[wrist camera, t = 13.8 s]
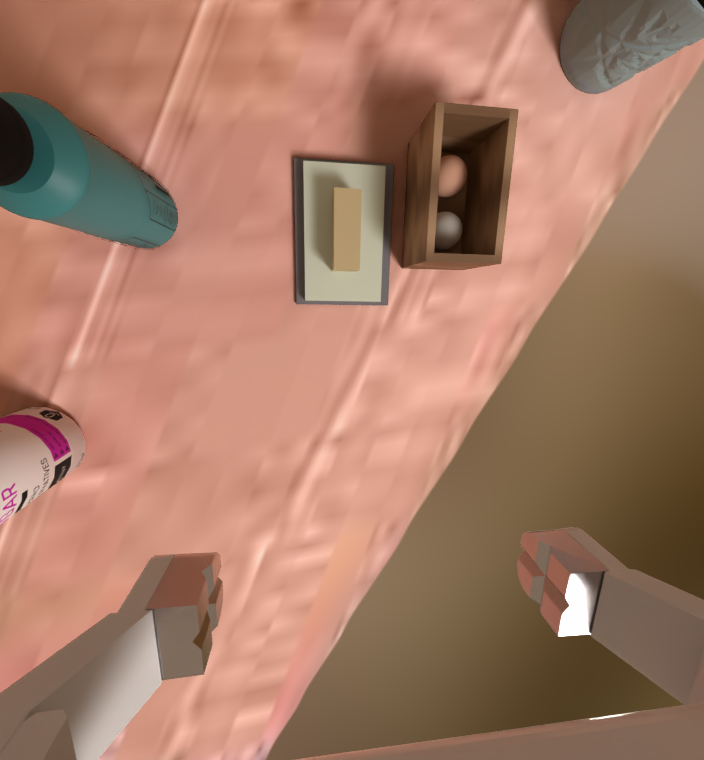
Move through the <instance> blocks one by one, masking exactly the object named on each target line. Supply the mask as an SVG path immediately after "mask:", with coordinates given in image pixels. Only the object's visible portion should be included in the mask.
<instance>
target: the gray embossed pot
mask: <svg viewBox="0 0 704 760" xmlns="http://www.w3.org/2000/svg"><path fill="white" fill-rule="evenodd" d="M702 38H704V0H580V2H579V3H578V4H577V5H576V6H575V8H574V9H573V11H572V12H571V14H570V15H569V17H568V19H567V21H566V23H565V25H564V28H563V31H562V35H561V40H560V60H561V65H562V68H563V71H564V73H565V75H566V77H567V79H568V80H569V82H570V83H571V84H572V85H573V86H574V87H575V88H576V89H578V90H580V91H582V92H585V93H589V94H598V93H602V92H605V91H608V90H610V89H612V88H614V87H616V86H618V85H619V84H621V83H623V82H625V81H627V80H629V79H630V78H632V77H633V76H634V75H635V74H636V73H639V72H641V71H644V70H646V69H647V68H649V67H651V66H653V65H655V64H656V63H658V62H660V61H662V60H664V59H665V58H667V57H670V56H671V55H673V54H675V53H676V52H677V51H678V50H680V49H682V48H683V47H685V46H687V45H691V44H693V43H695V42H697V41H699V40H701V39H702Z"/></svg>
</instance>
